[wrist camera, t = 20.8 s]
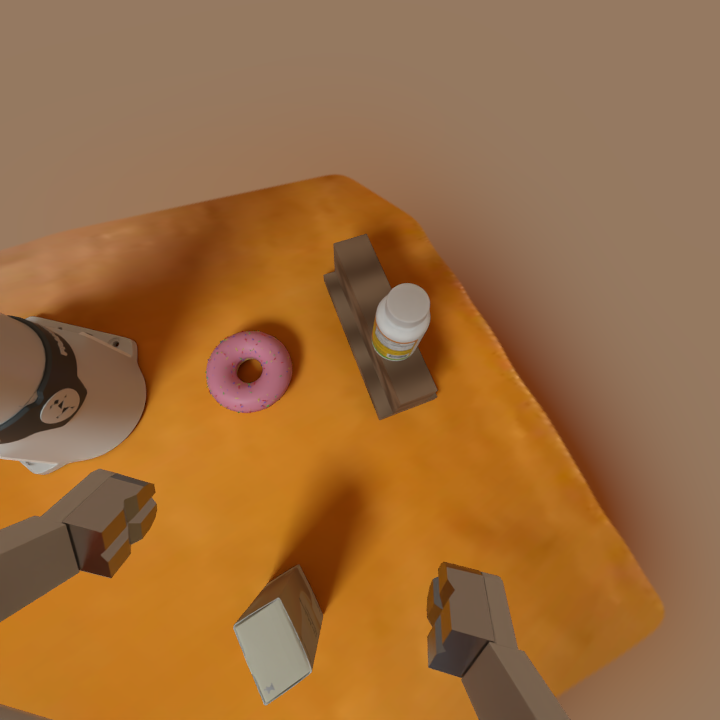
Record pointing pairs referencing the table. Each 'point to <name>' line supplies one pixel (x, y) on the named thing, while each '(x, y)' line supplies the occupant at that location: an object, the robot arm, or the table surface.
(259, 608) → the skincare box
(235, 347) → the doughnut
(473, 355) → the table surface
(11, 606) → the robot arm
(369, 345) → the beam
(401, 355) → the supplement bottle
